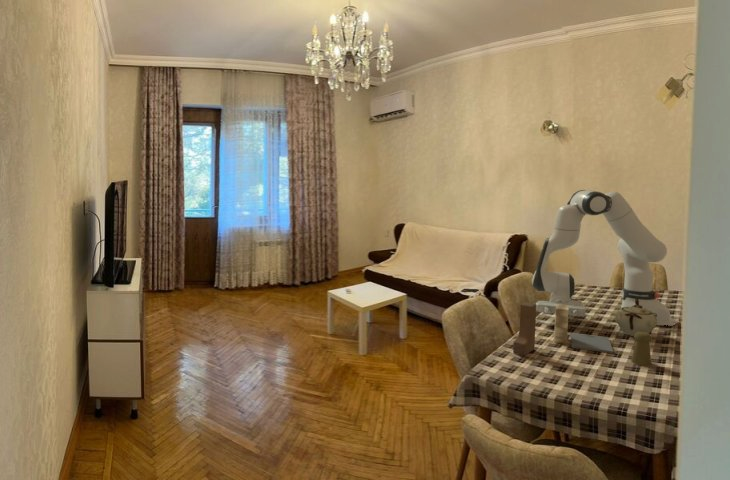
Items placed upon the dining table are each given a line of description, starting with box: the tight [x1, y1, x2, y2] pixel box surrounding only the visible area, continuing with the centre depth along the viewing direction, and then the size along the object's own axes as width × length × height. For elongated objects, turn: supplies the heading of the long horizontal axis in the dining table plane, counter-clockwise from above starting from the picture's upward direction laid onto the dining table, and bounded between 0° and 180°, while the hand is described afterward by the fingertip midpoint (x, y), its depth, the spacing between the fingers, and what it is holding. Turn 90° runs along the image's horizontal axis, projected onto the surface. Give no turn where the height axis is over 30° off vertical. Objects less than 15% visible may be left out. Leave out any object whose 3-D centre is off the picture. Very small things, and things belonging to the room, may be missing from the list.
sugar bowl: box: [614, 299, 658, 337], centre depth 180 cm, size 20×15×15 cm
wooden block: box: [512, 302, 537, 357], centre depth 162 cm, size 9×4×18 cm, turn 134°
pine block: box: [553, 304, 569, 345], centre depth 173 cm, size 4×7×14 cm, turn 157°
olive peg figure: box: [630, 332, 653, 367], centre depth 151 cm, size 6×6×11 cm
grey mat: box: [569, 332, 614, 354], centre depth 170 cm, size 14×16×1 cm
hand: (560, 313), depth 184 cm, fingers open, 8 cm apart
